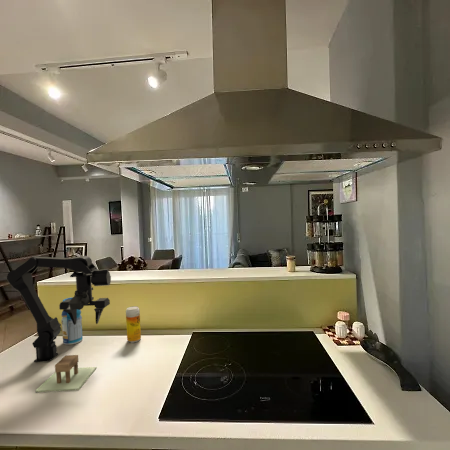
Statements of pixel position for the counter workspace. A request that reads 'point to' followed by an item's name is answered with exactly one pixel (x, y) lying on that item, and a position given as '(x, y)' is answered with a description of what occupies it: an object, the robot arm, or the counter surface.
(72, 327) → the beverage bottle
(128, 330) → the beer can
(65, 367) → the walnut stool
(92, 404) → the counter surface
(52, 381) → the sage board
